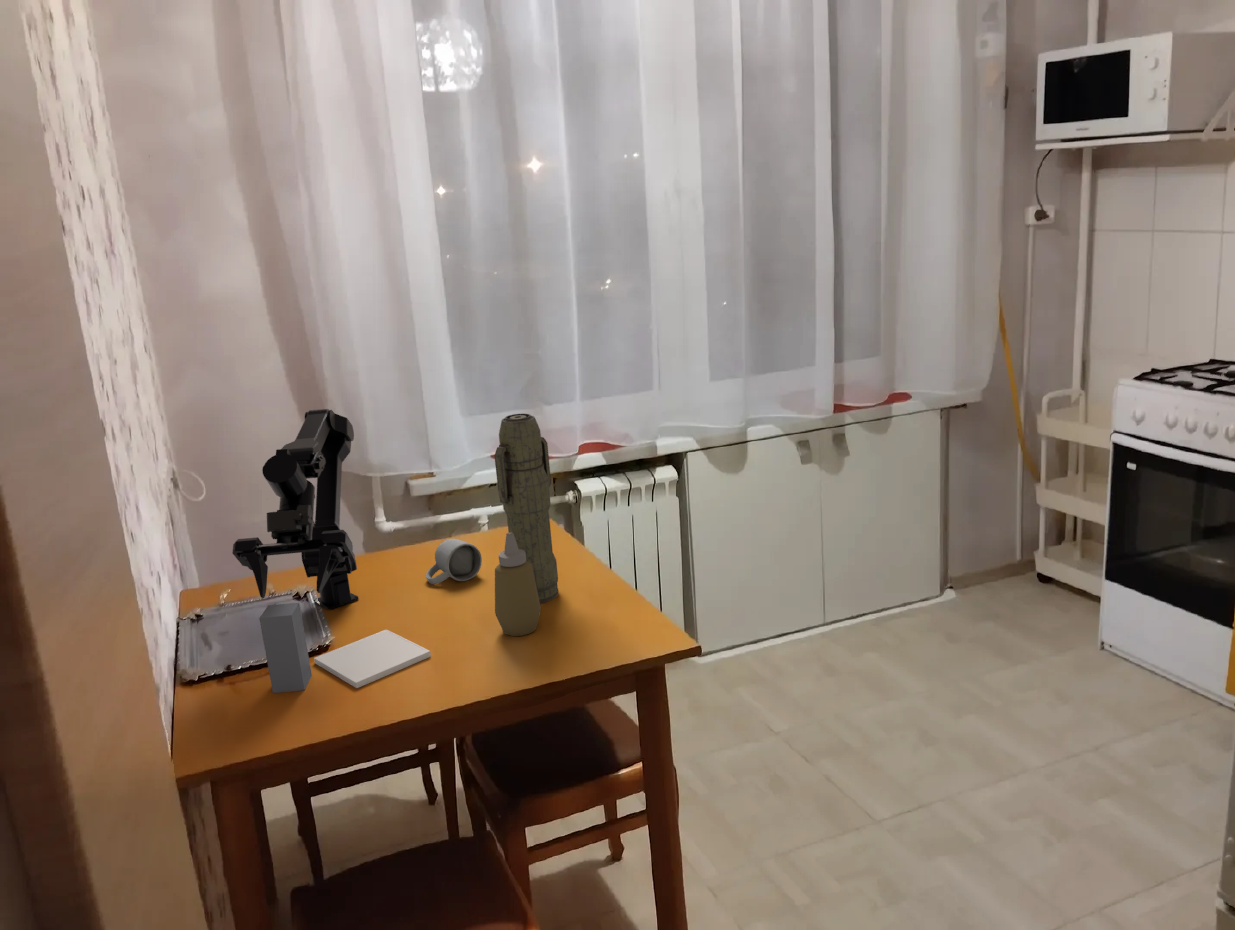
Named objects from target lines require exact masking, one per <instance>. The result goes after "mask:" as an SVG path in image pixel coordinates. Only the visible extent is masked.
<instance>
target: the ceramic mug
mask: <svg viewBox="0 0 1235 930" xmlns="http://www.w3.org/2000/svg"><path fill="white" fill-rule="evenodd" d="M482 559H483V558H482V554H481V551H480V550H479V548H478V547H477V546H476V545H474V544H472V543H470V542H466V541H464V540H461V539H458V538H448V539H445V540H443V541H442V542H441V543H440V544H438V545H437V547H436V550H435V552H434V560H435V564H433V565H432V566H431V567H430V568H429V569H428V570H427V572H426V573H425V578H426V580H427V581H428V583H429V584H431V585H438V584H440V583H443V582H444V581H445V580H448V579H449V578H451V579H453V580H455V581H458V582H467V581H470V580H472V579H473V578H475V577H476V576H477V575H478V573H479V572H480V569H481V567H482ZM440 570H441V571H442V573H440V574H438V575H436V576H435V577H433V576H434V575H435V574H436V573H438V572H439V571H440Z"/></svg>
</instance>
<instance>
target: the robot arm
mask: <svg viewBox="0 0 1235 930" xmlns="http://www.w3.org/2000/svg"><path fill="white" fill-rule="evenodd" d="M354 437H355V434H354V427H353V424H352V423H351V422H350V420H349V418H348V417H345V416H343V415H340V414H338V413H335V412H334V410H332V409H329V408H322V409H312V410H311V409H309V410H308V411H306V412H305V413H304V421H303V423H302V425H301V427H300V429H299V432H298V434H297V436H296V438H295V439H294V441H291V442H289V443H286V444H285V445H283V446H282V447H281V448H279V449H276V450H275V455H272V456H271V457H270V458H269V459H267V460H266V461H265V463H264V465H263V466H262V469H261V471H262V475H263V478H264V479H265V480H266V481H267V484H269V486H270V488H271V489H272V491H273V492H274V494H275V495H276V496H277V497H279V505H278V506H279V509H276V511H269V512H266V532H267V533H271V534H270V535H271V538H272V539H273V540H276V543H275V542H274V543H263V542H262V540H261V539H260V538H259V537H248V538H246V537H245V538H238V539H237V540H235V542H234V543H233V545H232V552H231V553H232V555H233V556H234V557H235V559H236V560H237V561H238V562H239V563H240V565H241V566H242V567H247V568H248V570H251V571H252V573H253V575H254V579H255V582H256V586H257V589H258V593H259V596H260V598H261V599H265V597H266V594H267V586H268V585H267V584H268V583H267V582H268V569H269V566H268V565H267V563H266V562H268V561H267V560H268V557H269V556H276V555H277V556H279V555H288V554H289V555H290V554H298V553H301V562H302V565H303V568H304V571H305V575H306V578H312V577H313V578H314V577H316V593H317V594H319V597H317V598H318V601H319V602H320V605H319V606H321V607H323V608H324V609H327V610H333V609H335V608H338V607H340V606H344V605H347V604H349V603H352V602H355V601H358V600H359V599H360V598H359V596H358V595H356V594H354V593H352V592H351V588H350V582H349V581H350V580H349V575H350V574H352V573H353V572H355V571H357V570H358V567H357V566H358V565H357V560H356V555H355V553H354V551H353V550H354V549H353V548H354V547H353V546H354V545H353V541H352V540H351V539H350V535H348V532H346V531H345V529H340V525H341V524H340V520H341V519H340V518H341V498H342V497H341V496H342V495H341V494H342V492H341V491H342V472H343V471H342V467H343V462H344V461H345V460H346V458H347V457H348V456H349V455H350V453H351V447H352V442H353V441H354V439H355V438H354ZM308 479H316V487H315V485H314V484H313V483H312V482H311V481H310V480H308ZM314 507H315V508H314ZM314 511H315V515H314ZM314 518H315V519H314Z"/></svg>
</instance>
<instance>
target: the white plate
mask: <svg viewBox="0 0 1235 930" xmlns="http://www.w3.org/2000/svg"><path fill="white" fill-rule="evenodd" d="M431 655H432V654H431V650H429V649H427V648H425V647H423V646H421V645H419V644H417V643H415V642H413V641H411V640H409V639H406V638H404V637H403V636H401V635H399V634H397V633H394V632H392V631H391V630H388V629H383V630H381V631H379V632H376V633H373V634H372V635H368V636H365V637H363V638H361V639H359V640H356V641H353V642H351V643H348V644H346V645H344V646H341V647H338V648H336V649H333V650H330V651H328V652H325V653H323V654H320V655H317V656H315V657H313V660H314V661H313V662H314V664H316V665H317V666H319V667H321V668H322V669H324V670H326V671H327V672H329V673H331V674H332V675H334V676H335V677H337V678H338V679H341V680H342V681H343V682H346V683H347V684H348V685H351V686H352V687H354V688H355V689H359V688H361V687H363V686H365V685H368V684H371V683H372V682H375V681H377V680H379V679H382V678H384V677H386V676H389V675H392V674H393V673H396V672H398V671H400V670H402V669H405V668H407V667H410V666H413V665H414V664H417V663H419V662H421V661H424V660H426V659H428V658H430V657H432V656H431Z"/></svg>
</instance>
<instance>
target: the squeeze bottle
mask: <svg viewBox="0 0 1235 930" xmlns="http://www.w3.org/2000/svg"><path fill="white" fill-rule="evenodd" d="M498 561H499V562H498V563H499V564H497V566H496V567H495V569H494V614H495V617H496V619H497V621H498V623H499V626H500V628H501V630H502V632H503V634H505V635H508V636H512V637H519V636H526V635H529V634H531V633H533V632H535V631H536V629H537V628H538V623H539V619H540V615H541V611H542V607H541V603H540V602H539V597H538V592H537V587H536V582H535V578H534V573H533V568H532V565H531V564H530V563H529V562H527V561H526V554H525V551H523V550H521V549H518V546H517V543H516V540H515V537H514V534H513V533H512V532H507V533H506V534H505V544H504V550H502V551H500V552H499V553H498Z"/></svg>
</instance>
